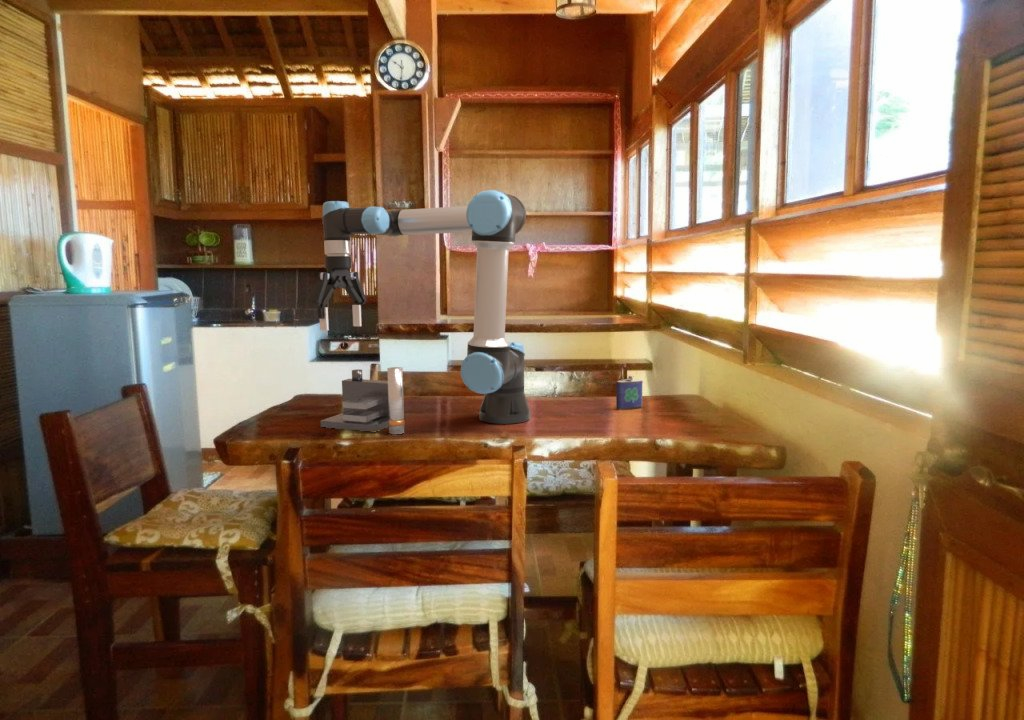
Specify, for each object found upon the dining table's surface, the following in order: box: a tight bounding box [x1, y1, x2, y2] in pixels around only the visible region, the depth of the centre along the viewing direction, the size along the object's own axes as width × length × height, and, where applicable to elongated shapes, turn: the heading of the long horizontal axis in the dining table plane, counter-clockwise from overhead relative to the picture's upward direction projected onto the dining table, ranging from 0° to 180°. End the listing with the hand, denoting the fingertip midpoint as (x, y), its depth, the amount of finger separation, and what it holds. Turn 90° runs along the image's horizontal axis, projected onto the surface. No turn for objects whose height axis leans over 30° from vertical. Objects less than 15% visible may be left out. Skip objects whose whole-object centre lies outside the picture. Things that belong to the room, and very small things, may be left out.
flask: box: [615, 374, 644, 411], centre depth 216 cm, size 9×3×11 cm, turn 112°
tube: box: [386, 366, 405, 434], centre depth 184 cm, size 4×4×18 cm
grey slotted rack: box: [320, 369, 389, 432], centre depth 195 cm, size 18×14×15 cm
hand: (341, 328), depth 202 cm, fingers open, 13 cm apart
